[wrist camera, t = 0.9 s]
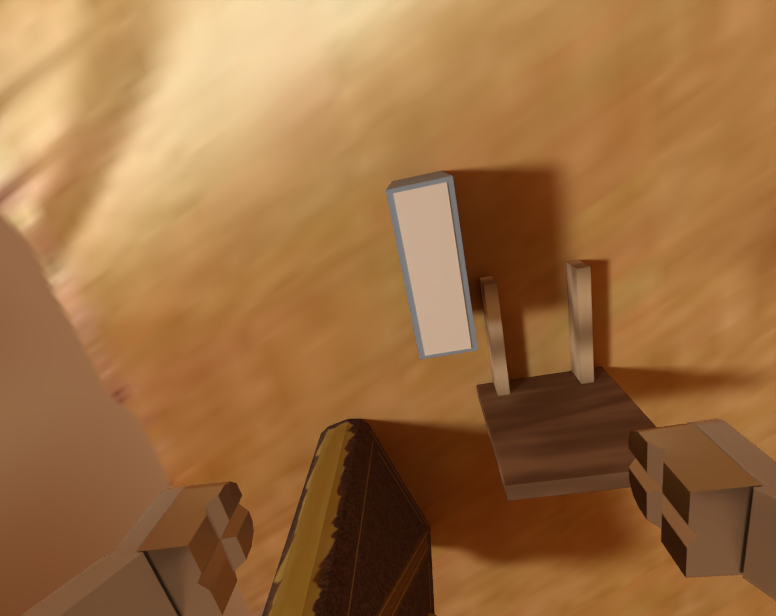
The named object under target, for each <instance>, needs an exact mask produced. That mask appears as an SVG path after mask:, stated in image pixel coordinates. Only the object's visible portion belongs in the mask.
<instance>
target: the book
mask: <svg viewBox="0 0 776 616" xmlns="http://www.w3.org/2000/svg"><path fill="white" fill-rule="evenodd" d="M262 616H436V615H435V614H434V595H433V576H432V557H431V538H430V526H429V524H428V523H427V521H426V519H425V518H424V516H423V514H422V513H421V511H420V509H419V508H418V506H417V504H416V503H415V501H414V499H413V498H412V496H411V494H410V492H409V491H408V489H407V487H406V486H405V484H404V482H403V481H402V479H401V477H400V476H399V474H398V472H397V471H396V469H395V467H394V466H393V464H392V462H391V461H390V459H389V457H388V456H387V454H386V452H385V451H384V449H383V447H382V446H381V444H380V442H379V441H378V439H377V437H376V436H375V434H374V432H373V430H372V429H371V427H370V426H369V425H368V424H367V423H365V422H364V421H363V420H361V419H347V420H344V421H342V422H339V423H336V424H334V425H331V426H329V427H327V428H326V429H325V430H324V431H323V432H322V433H321V435H320V439H319V442H318V445H317V448H316V451H315V454H314V457H313V460H312V463H311V466H310V469H309V473H308V476H307V479H306V482H305V485H304V488H303V491H302V494H301V497H300V500H299V503H298V507H297V510H296V513H295V516H294V519H293V522H292V525H291V528H290V531H289V534H288V537H287V541H286V544H285V547H284V550H283V553H282V556H281V559H280V562H279V565H278V568H277V571H276V575H275V578H274V581H273V584H272V587H271V590H270V593H269V596H268V599H267V602H266V605H265V609H264V612H263V615H262Z"/></svg>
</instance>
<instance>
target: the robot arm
mask: <svg viewBox="0 0 776 616" xmlns="http://www.w3.org/2000/svg"><path fill="white" fill-rule="evenodd" d="M628 448H629V450H630V451H631V452H632V454H633V455H634V456H635V460H634V461H633V462H632V463H631V465H630V466H629V482H630V485H631V489H632V492H633V496H634V498H635V500H636V502H637V504H638V506H639V508H640V510H641V511H642V513H643V515H644V516H645V518H646V519H647V520H648V521H650V522H652V523H653V524H655V525H657V526H658V527H660V528H662V530H661V542H662V543H663V545H664V546H665V548H666V549H667V551H668V552H669V554H670V555H671V556H672V558H673V559H674V561H675V562H676V564H677V565H678V567H679V568H680V570H681V571H682V573H683V574H684V576H685V577H686V578H688V577H707V576H726V575H743V578H744V579H746V580H747V581H748V582H750V583H751V584H753V585H754V586H756V587H757V588H758V589H760V590H761V591H763V592H764V593H766V594H767V595H768V596H770V597H771V598H773V599H774V600H776V462H775V461H774V460H773V459H772V458H770V457H769V456H768V455H767V454H765V453H764V452H763V451H762V450H760V449H759V448H758V447H757V446H755V445H754V444H753V443H752V442H750V441H749V440H748V439H747V438H745V437H744V436H743V435H742V434H740V433H739V432H738V431H737V430H735V429H734V428H733V427H732V426H730V425H729V424H728V423H727V422H725V421H723V420H720V419H717V418H716V419H709V420H702V421H695V422H689V423H687V424H679V425H671V426H664V427H656V428H648V429H641V430H633V431H631V432H630V435H629V437H628ZM241 497H242V494H241V492H240V490H239V488H238V485H237V483H234V482H230V481H229V482H219V483H209V484H199V485H189V486H183V487H173V488H168V489H166V490H164V491H162V492H161V493H160V494H159V495H158V496H157V498H156V499H155V500H154V502H153V503H152V504H151V506H150V507H149V508H148V509H147V510H146V512H145V513H144V514H143V516H142V517H141V518H140V519H139V521H138V522H137V523H136V525H135V526H134V527H133V528H132V530H131V531H130V532H129V534H128V535H127V536H126V537H125V539H124V540H123V541H122V542H121V544H120V545H119V546H118V548H117V549H116V550H115V551H114V553H113V554H112V555H111V556H104V557H102V558H101V559H100V560H98V561H97V562H95V563H94V564H93V565H91V566H90V567H88V568H87V569H86V570H84V571H83V572H82V573H80V574H79V575H77V576H76V577H74V578H73V579H72V580H70V581H69V582H67V583H66V584H65V585H63V586H62V587H61V588H59V589H58V590H56V591H55V592H54V593H52V594H51V595H49V596H48V597H46V598H45V599H44V600H42V601H41V602H39V603H38V604H37V605H35V606H34V607H32V608H31V609H30V610H28V611H27V612H25V613H24V614H23V615H21V616H222V615H223V613H224V611H225V608H226V606H227V603H228V601H229V599H230V597H231V594H232V592H233V590H234V587H235V585H236V583H237V578H236V574H235V570H236V569H237V568H238V567H239V566H240V565H241V564H242V563H243V562H244V561H245V560H246V559H247V557H248V554H249V552H250V549H251V547H252V540H253V532H254V530H253V522H252V518H251V516H250V513H249V511H248V510H247V509H245V508H244V507H243V506H241V505H240V504H239V502H240V499H241Z"/></svg>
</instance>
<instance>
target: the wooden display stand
mask: <svg viewBox="0 0 776 616" xmlns="http://www.w3.org/2000/svg"><path fill="white" fill-rule="evenodd" d="M566 268H567V287H568V306H569V326H570V345H571V364H572V371H569V372H563V373H556V374H549V375H542V376H535V377H529V378H522V379H515V380H508V372H507V364H506V355H505V347H504V338H503V330H502V321H501V312H500V304H499V295H498V287H497V282H496V281H495V280H494V278H493V277H492V276H487V277H481V278H479V279H480V286H481V294H482V301H483V309H484V316H485V324H486V331H487V339H488V347H489V354H490V362H491V369H492V377H493V383H488V384H481V385H477V392H478V398H479V401H480V405H481V408H482V412H483V415H484V419H485V422H486V426H487V429H488V433H489V437H490V440H491V444H492V447H493V451H494V454H495V458H496V461H497V465H498V468H499V472H500V476H501V479H502V483H503V486H504V490H505V493H506V497H507V500H508V501H510V500H519V499H528V498H537V497H546V496H555V495H564V494H573V493H583V492H592V491H601V490H610V489H619V488H628V487H631V485H630V482H629V466H630V465H631V463H632V462H633V461H634V460H635V456H634V455H633V454H632V452H631V451H630V450H629V448H628V437H629V435H630V432H631V431H633V430H641V429H648V428H656V426H655V425H654V424H653V423H652V422H651V421H650V419H649V418H648V417H647V416H646V415H645V414H644V413H643V412H642V411H641V410H640V408H639V407H638V406H637V405H636V404H635V403H634V402H633V401H632V400H631V399H630V397H629V396H628V395H627V394H626V393H625V392H624V391H623V390H622V389H621V388H620V386H619V385H618V384H617V383H616V382H615V381H614V380H613V379H612V378H611V377H610V375H609V374H608V373H607V372H606V371H605V370H604V369H603V368H602V367H597V368H594V364H593V331H592V297H591V267H590V266H589V265H587V264H585V263H584V262H582V261H580V260H576V261H570V262H566Z"/></svg>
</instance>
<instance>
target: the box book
mask: <svg viewBox="0 0 776 616" xmlns="http://www.w3.org/2000/svg"><path fill="white" fill-rule="evenodd" d="M386 194H387V199H388V204H389V209H390V214H391V219H392V224H393V229H394V233H395V238H396V243H397V248H398V253H399V258H400V263H401V268H402V273H403V278H404V283H405V288H406V293H407V298H408V303H409V308H410V313H411V317H412V322H413V327H414V332H415V337H416V342H417V347H418V352H419V357H420V359H426V358H432V357H438V356H445V355H451V354H457V353H464V352H470V351H476V350H478V349H477V342H476V335H475V328H474V321H473V314H472V307H471V300H470V293H469V286H468V279H467V272H466V265H465V258H464V251H463V244H462V237H461V230H460V223H459V216H458V209H457V202H456V195H455V188H454V181H453V176H452V175H450V174H448V173H445V172H443V171H438V172H434V173H429V174H424V175H420V176H415V177H411V178H406V179H401V180H397V181H392V182H391V184H390V185H389V186H388V188H387V189H386Z"/></svg>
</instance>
